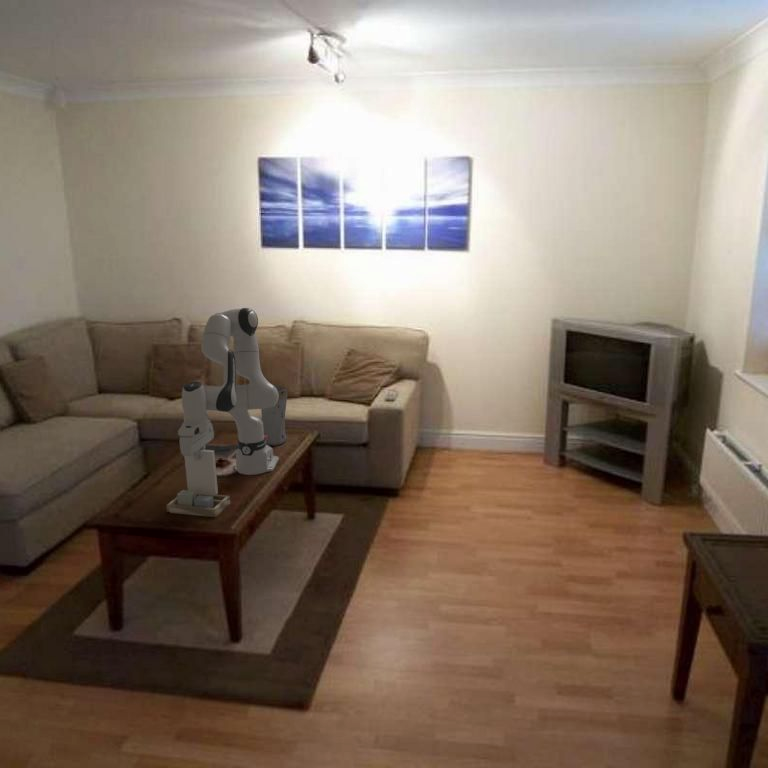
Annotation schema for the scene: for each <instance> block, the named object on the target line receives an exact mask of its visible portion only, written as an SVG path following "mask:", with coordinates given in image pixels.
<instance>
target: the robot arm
mask: <svg viewBox="0 0 768 768" xmlns="http://www.w3.org/2000/svg"><path fill="white" fill-rule="evenodd" d="M258 326H259V318H258V315H257V312H255V311H254V310H253V308H250V307H243V308H234V309H229V310H226V311H222V312H216V313H214V314H212V315H210V316H209V318H208V320H207V322H206V323H205V327H204V330H203V333H202V337H201V338H202V339H201V341H200V349H201V352H202V354H203V355H204V356H205V357H206V358H207V359H209V360H210V361H212V362H214V363H217V364H218V365H219V364H220V365H221V366H223V384H222V385H204V384H203V383H202V382H200V381H190V382H187V383H186V384H184V385H183V386H182V389H181V390H182V391H181V403H182V404H181V405H182V410H183V413H184V414H183V422H182V424H181V426H180V428H179V429H178V430H177V434H178V436H179V447H180V448H179V449H180V453H181V455H182V457H184V456H191V455H192V454H193V455H194V459H195V460H199V459H200V455H199V454H198V452H199V449H202V450H205V445H206V444H209V443H210V442H211V441H213V440H214V437H215V430H214V426H213V424H212V422H211V419H210V418H209V417H208V412H207V411H214V412H215V411H216V412H224V413H228V414H230V416H231V417H232V418H233V420H234V421H235V424H236V429H237V436H238V437H237V438H238V440H237V445H238V448H239V449H238V450H237V451H236V454H235V464H236V466H235V467H236V468H237V470H236V471H237V472H238V474H242V475H248V476H254V475H255V476H256V475H260V474H264V473H267V472H274V470H275V468H276V466H277V464H278V462H279V459H280V458H279V456H277V455H275V454H274V449H273V447H272V446H270V445H267V444H266V440H267V439H268V436H267V435H266V436H264V430H263V422H262V418H259V417H258V416H256V415H252V413H250V412H249V411H250V410H252V411H253V410H261V409H266V408H270V407H273V406H275V405H276V403H277V401H278V397H279V395H278V391H277V389H276V388H275V386H274V384H272V383H270V381H268V380H267V378H265V376H264V375H263V371H262V368H261V363H260V361H261V360H260V350H259V341H258V337H257V333H256V331H257V329H258ZM231 337H232V338H233V344H232V349H230V342H231ZM236 374H237V375H238V376H241V377H242V378H245V379H247V380H248V381H249V383H248V384H240V385H239V384H238V385H237V384H236V382H237V381H236Z"/></svg>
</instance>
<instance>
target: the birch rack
mask: <svg viewBox="0 0 768 768" xmlns="http://www.w3.org/2000/svg"><path fill="white" fill-rule="evenodd" d="M196 494H197V496H199V495H202V496H213V501H214V508H205V507H194V506H184V505H178V500H177V496H176V497H175V498H173V499H172V500H171V501H169V503H167V504H166V507H165V508H166V513H167V512H170V513H169V514H177V515H179V514H180V515H191V516H202V517H211V518H216V517H217V516H218V515H219V514H221V513H222V512H223V511H224V510H225V509H226V508H227V507H228V506H229V505H230V504H231V495H224V494H216V495H211V494H200V493H196Z"/></svg>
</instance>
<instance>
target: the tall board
mask: <svg viewBox="0 0 768 768" xmlns="http://www.w3.org/2000/svg"><path fill="white" fill-rule="evenodd" d="M198 454H199V455H200V459H199V460H195V459H194V455H193V454H192V455H191V456H183V457H184V465H185V466H184V467H185V475H186V485H187V491H196V493H200V494H211V495H219V491H218V490H219V488H218V477H217V468H216V465H217V464H216V460H215V454H214V450H202V449H199V452H198Z"/></svg>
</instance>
